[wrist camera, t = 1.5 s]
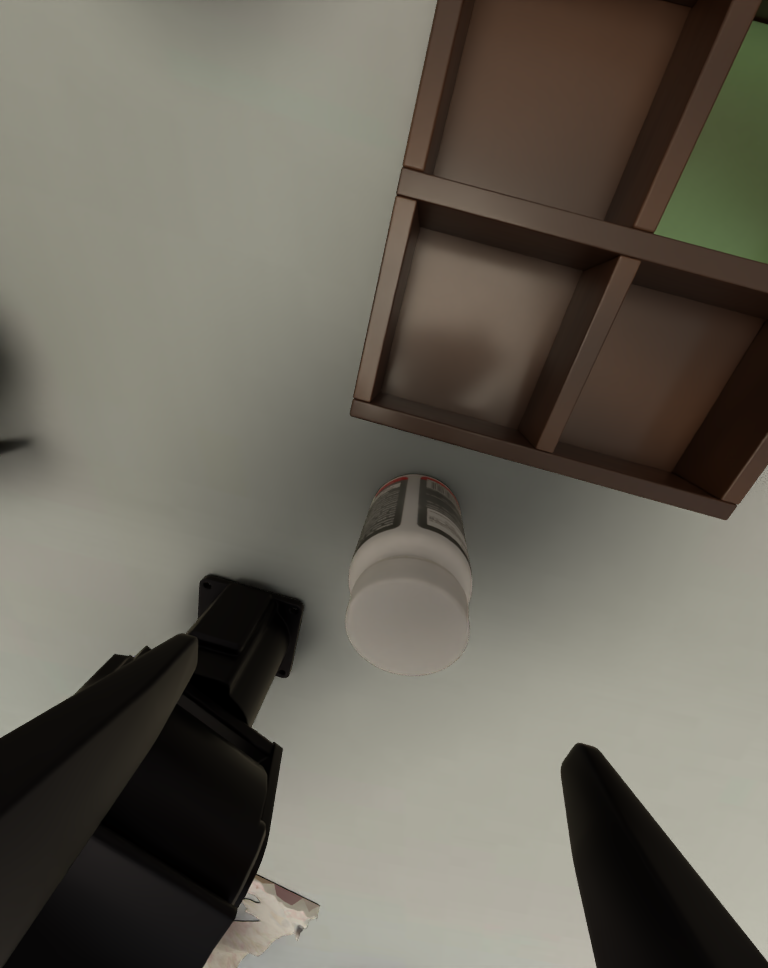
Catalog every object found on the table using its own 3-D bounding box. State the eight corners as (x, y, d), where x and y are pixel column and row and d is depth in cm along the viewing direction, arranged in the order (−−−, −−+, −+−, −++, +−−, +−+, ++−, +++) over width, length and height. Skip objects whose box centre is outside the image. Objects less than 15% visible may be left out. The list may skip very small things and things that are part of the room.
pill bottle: (374, 551, 20) (339, 682, 13) (367, 472, 19) (322, 568, 11) (460, 552, 20) (478, 691, 12) (461, 471, 18) (484, 572, 10)
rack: (669, 485, 17) (727, 521, 14) (364, 400, 17) (348, 416, 14) (938, 55, 11) (1155, -64, 8) (469, -64, 11) (485, -229, 8)
